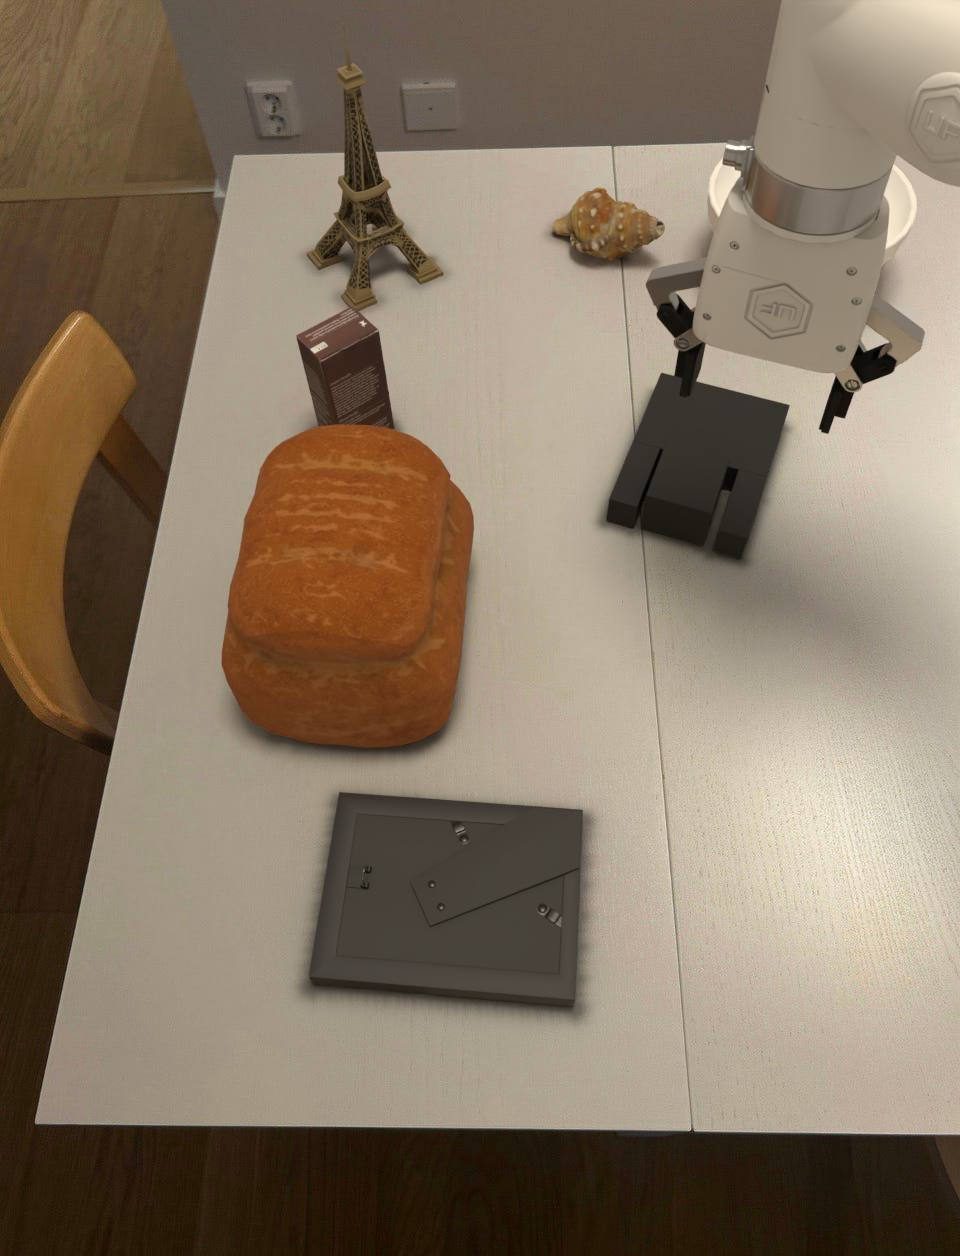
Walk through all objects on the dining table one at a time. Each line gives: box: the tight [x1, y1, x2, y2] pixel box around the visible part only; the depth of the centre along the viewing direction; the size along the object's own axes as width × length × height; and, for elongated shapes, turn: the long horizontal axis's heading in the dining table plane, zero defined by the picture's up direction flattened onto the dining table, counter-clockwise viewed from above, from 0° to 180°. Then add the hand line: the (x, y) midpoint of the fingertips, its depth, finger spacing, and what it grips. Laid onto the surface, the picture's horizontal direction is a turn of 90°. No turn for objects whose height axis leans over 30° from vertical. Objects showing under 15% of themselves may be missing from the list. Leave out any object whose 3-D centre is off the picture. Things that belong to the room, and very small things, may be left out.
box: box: [295, 306, 396, 430], centre depth 94 cm, size 6×4×12 cm
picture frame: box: [308, 791, 584, 1008], centre depth 74 cm, size 13×2×18 cm
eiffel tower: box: [306, 22, 444, 312], centre depth 101 cm, size 11×11×25 cm
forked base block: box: [606, 372, 791, 560], centre depth 94 cm, size 12×16×3 cm
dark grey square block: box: [640, 442, 730, 546], centre depth 91 cm, size 6×6×4 cm
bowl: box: [706, 157, 918, 266], centre depth 105 cm, size 20×20×10 cm
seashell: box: [551, 186, 666, 261], centre depth 110 cm, size 9×8×10 cm
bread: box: [221, 424, 475, 748], centre depth 80 cm, size 18×21×17 cm
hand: (757, 401), depth 73 cm, fingers open, 9 cm apart
